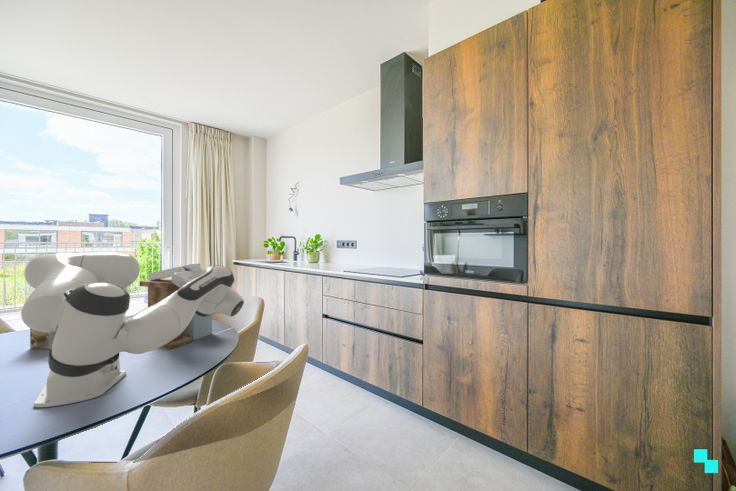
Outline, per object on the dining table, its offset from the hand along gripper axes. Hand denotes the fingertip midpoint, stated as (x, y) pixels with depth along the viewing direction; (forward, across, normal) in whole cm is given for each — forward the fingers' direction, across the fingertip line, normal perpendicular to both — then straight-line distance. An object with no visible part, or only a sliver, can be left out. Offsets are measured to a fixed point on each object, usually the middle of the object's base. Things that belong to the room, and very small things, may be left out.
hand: (186, 267), depth 124 cm
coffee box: (+28, -19, -53) cm, 63 cm away
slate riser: (-9, +11, -32) cm, 35 cm away
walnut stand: (-6, 0, -34) cm, 34 cm away
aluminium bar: (+4, 0, -6) cm, 7 cm away
